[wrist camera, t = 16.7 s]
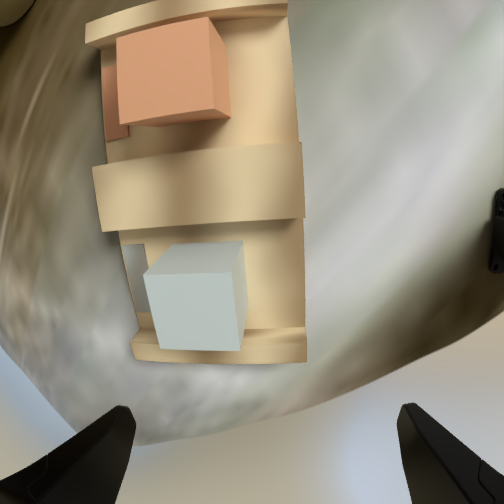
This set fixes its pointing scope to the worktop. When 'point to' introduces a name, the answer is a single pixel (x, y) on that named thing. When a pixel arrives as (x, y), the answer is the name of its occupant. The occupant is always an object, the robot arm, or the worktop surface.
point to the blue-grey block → (199, 296)
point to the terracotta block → (172, 75)
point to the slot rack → (213, 177)
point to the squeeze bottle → (13, 10)
